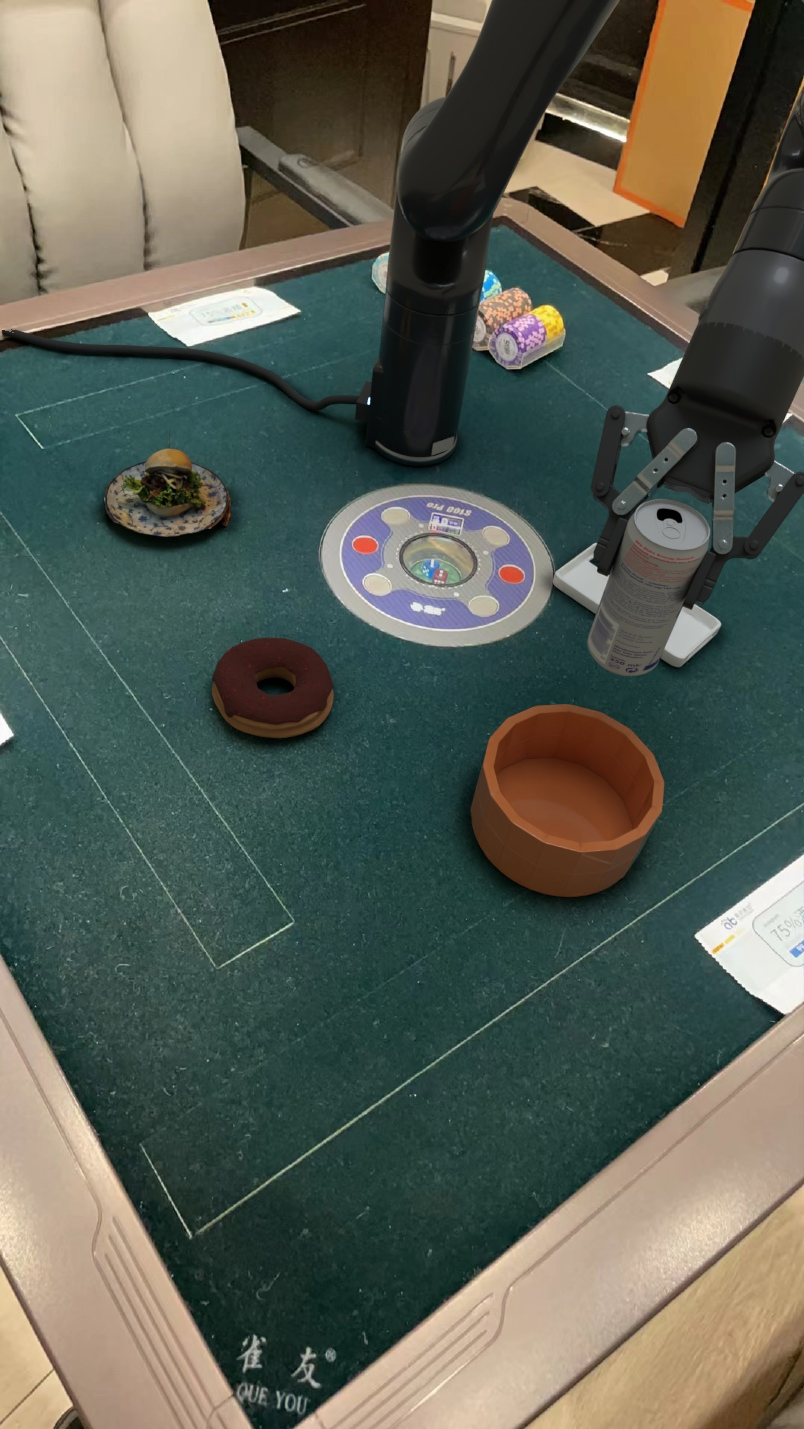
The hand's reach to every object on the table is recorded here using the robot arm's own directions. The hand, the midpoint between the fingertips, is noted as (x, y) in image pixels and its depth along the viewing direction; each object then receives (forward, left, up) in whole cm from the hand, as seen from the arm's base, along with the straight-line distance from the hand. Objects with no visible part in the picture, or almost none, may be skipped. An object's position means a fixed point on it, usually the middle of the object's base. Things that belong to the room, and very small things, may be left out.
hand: (644, 589), depth 69 cm
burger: (-42, +21, -22) cm, 52 cm away
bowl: (0, -4, -22) cm, 23 cm away
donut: (-25, +1, -22) cm, 34 cm away
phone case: (+4, +23, -22) cm, 32 cm away
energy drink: (+1, +2, -8) cm, 8 cm away
